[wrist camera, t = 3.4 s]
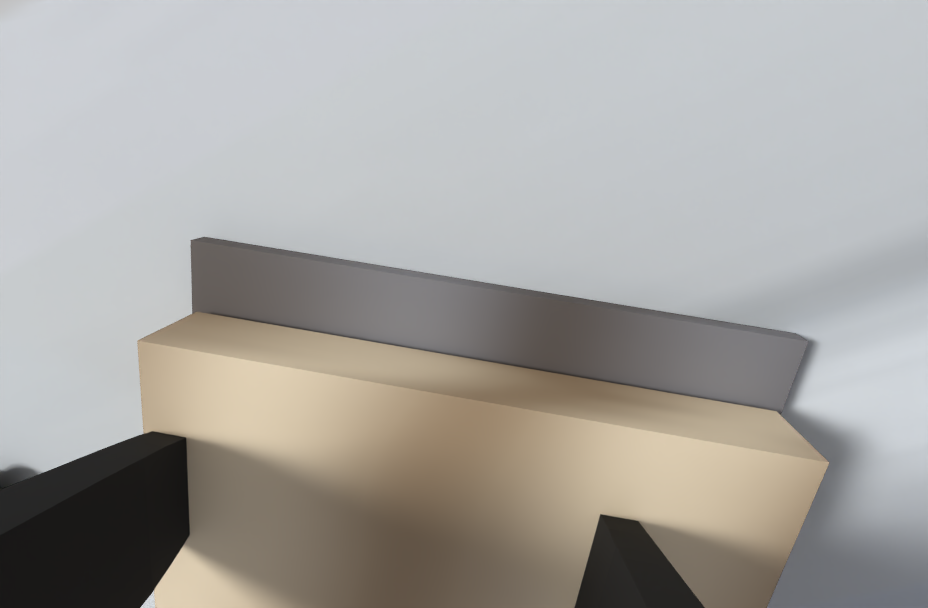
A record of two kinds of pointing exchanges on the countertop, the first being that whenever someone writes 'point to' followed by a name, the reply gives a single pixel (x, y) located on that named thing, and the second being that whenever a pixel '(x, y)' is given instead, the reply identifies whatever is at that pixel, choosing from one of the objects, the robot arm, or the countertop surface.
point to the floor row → (497, 323)
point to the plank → (450, 475)
